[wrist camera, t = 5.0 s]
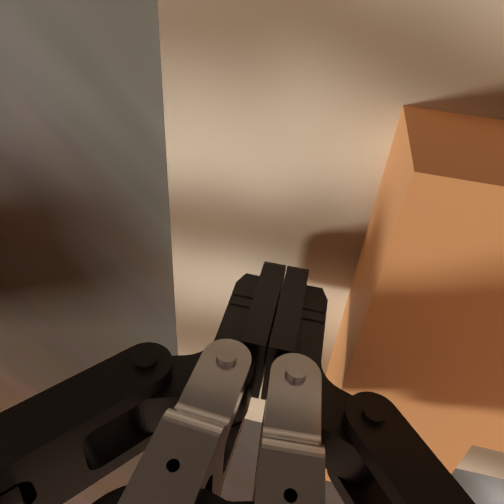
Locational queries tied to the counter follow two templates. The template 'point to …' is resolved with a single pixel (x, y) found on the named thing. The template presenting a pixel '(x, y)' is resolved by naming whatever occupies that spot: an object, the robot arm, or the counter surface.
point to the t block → (433, 285)
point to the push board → (303, 137)
